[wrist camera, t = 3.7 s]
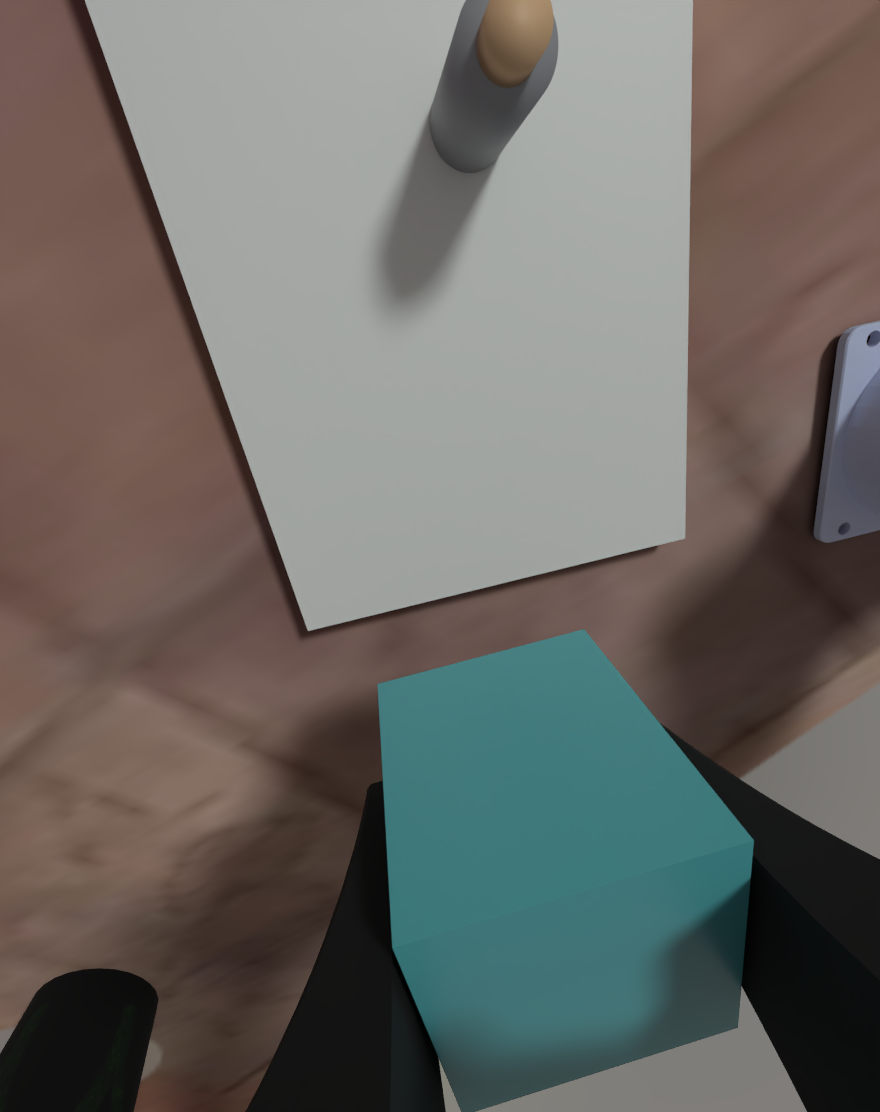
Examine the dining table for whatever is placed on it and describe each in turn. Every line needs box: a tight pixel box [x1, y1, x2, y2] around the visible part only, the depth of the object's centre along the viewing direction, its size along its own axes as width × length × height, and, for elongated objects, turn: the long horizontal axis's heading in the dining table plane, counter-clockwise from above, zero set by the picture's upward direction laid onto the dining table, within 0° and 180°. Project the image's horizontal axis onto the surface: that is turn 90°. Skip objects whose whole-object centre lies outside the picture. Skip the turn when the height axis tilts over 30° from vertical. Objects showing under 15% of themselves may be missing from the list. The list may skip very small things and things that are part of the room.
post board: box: [85, 0, 693, 631], centre depth 12 cm, size 14×20×5 cm
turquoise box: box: [378, 629, 754, 1112], centre depth 10 cm, size 5×5×6 cm
